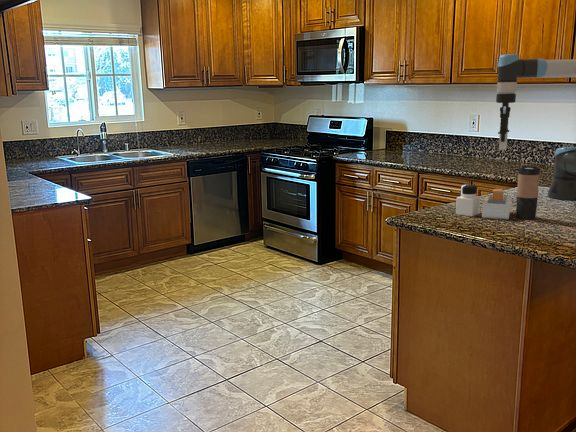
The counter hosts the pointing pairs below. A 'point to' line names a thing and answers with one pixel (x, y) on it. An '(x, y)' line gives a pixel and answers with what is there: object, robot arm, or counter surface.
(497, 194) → the toggle
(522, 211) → the travel mug
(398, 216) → the counter surface
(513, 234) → the counter surface
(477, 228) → the counter surface
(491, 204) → the grey boxy piece
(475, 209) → the medicine bottle
